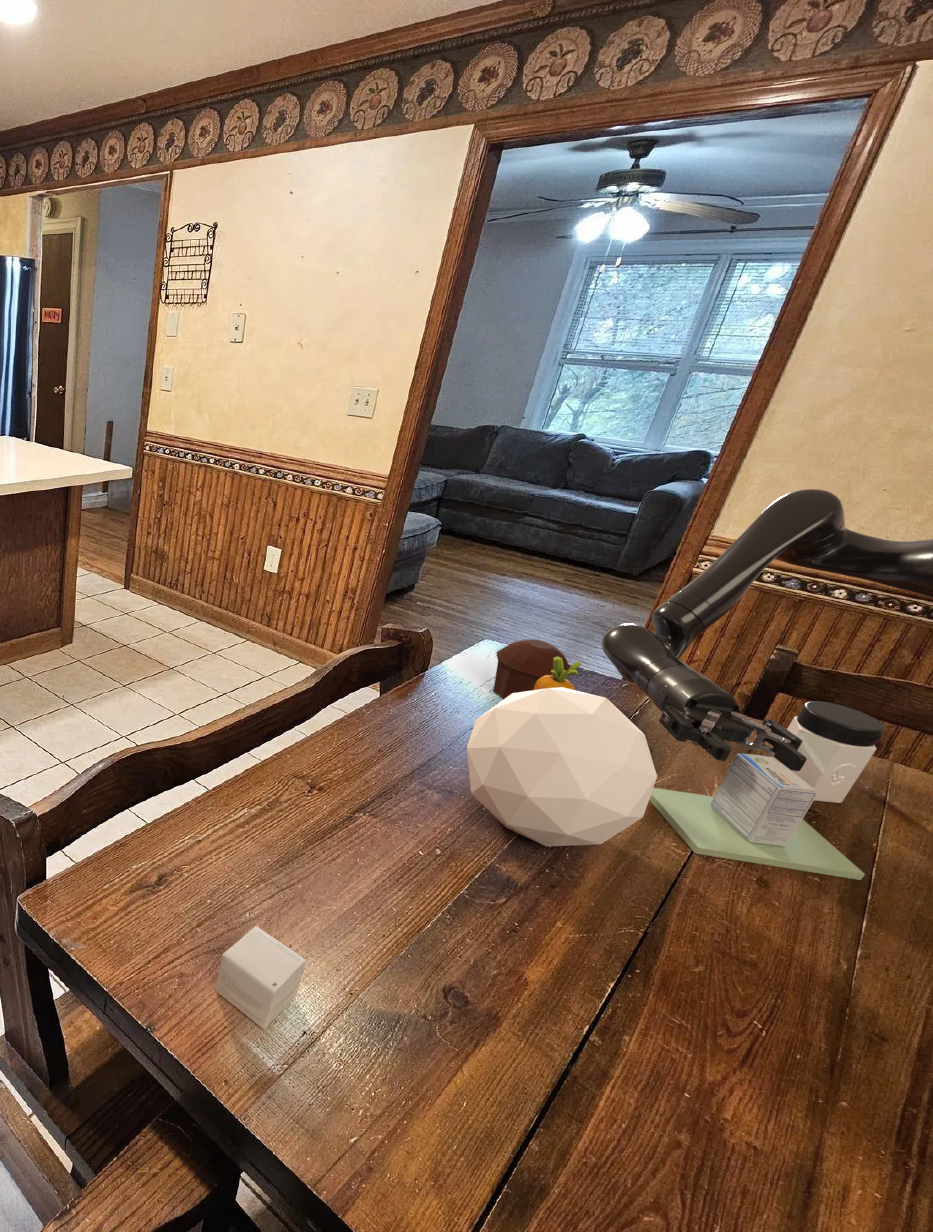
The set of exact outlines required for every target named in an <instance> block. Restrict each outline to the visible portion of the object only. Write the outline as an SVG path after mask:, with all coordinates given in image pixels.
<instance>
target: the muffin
mask: <svg viewBox="0 0 933 1232" xmlns="http://www.w3.org/2000/svg"><path fill="white" fill-rule="evenodd" d="M495 653H496V658H497V665H496V672H495V678H494V684H493V690H492V692H493V693H494V694H496V695H498V696H499V697H500V698H501V699H502V700H504V699H505V698H507V697H508V696H509V695H511V694H512V693H518V692H525V691H532V690H533V689H534V686H535V684H536V682H537V680H538V679H540V678H541V677H543V676H545V675H552V676H553V674H552V672H551V670H554V668H553V661H554V657H560V658H562V660H563V665H564V670H566V671H567V670H568V669H569V668H570V667H571V666H570V663H569V662H568V659H567V657H566V655H565V654H564V652H563V651H562V650H561V649H559V648H558V647H557V646H555V645H554V644H552V643H550V642H548V641H546V640H545V641H544V640H540V639H534V638H525V639H519V640H515V641H512V642H511V643H509V644H508V645H506V646H504V647H502V648H501V649H499V650H498V651H496V652H495Z"/></svg>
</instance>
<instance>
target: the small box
mask: <svg viewBox="0 0 933 1232" xmlns="http://www.w3.org/2000/svg"><path fill="white" fill-rule="evenodd" d="M306 963H307V961H306V959H305V958H304V957H302V956H300V954H297V953H296V952H295V951H293V950H292V949H290V948H289V947H287V946H286V945H284V944H283V943H281V942H280V941H279V940H277V939H276V938H275V937H273V936H272V935H270V934H268V932H266V931H264V930H263V929H261V928H260V927H259V926H258V925H254V927H253V928H251V929H250V930H249V931H248V932H247V933H246V934H245V935H244V936H242V937H241V938H240V939H239V940H238V941H236V942H235V943H234V944H233V945H232V946H231V947H229V948H228V949H227V950H226V951H224V952H223V953H222V954H221V959H220V964H219V968H218V973H217V978H216V983H215V987H214V991H215V992H216V993H217V994H219V995H220V996H221V997H222V998H224V999H225V1000H226V1001H228V1002H229V1003H230V1004H231V1005H232V1006H234V1007H235V1008H236V1009H237V1010H238V1011H240V1012H241V1013H242V1014H244V1015H245V1016H246V1017H248V1018H249V1019H250V1020H251V1021H253V1022H254V1023H255V1024H256V1025H258V1026H259V1027H260V1028H261V1029H262V1030H266V1029H267V1028H268V1027H269V1026H270V1025H271V1024H272V1023H273V1022H274V1021H275V1019H277V1017H278V1016H279V1015H280V1014H281V1013H282V1012H283V1011H284V1009H286V1008H287V1006H289V1005H290V1003H291V1002H293V1000H294V999H295V998H296V997H297V996H298V992H299V989H300V985H301V981H302V978H303V974H304V970H305V966H306Z"/></svg>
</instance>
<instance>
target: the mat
mask: <svg viewBox="0 0 933 1232" xmlns="http://www.w3.org/2000/svg"><path fill="white" fill-rule="evenodd" d="M713 798H714V796H711V795H705V794H698V793H691V792H685V791H677V790H671V789H665V788H660V787H659V788H658V787H653V790H652V793H651V796H650V799H649V802H650V803H651V804H652V806H654V808H655V809H656V810H657V811H658V813H660V815H661V816H662V817H663V818H664V819H665V820H666V822H667V823H668V825H670V826H671V827H672V829H673V830H674V831H675V832H676V833H677V835H679V837H680V838H681V839H682V840H683V842H684V843H685V844H686V845H687V846H688V847H689V848H690V850H691V851H692V852H693V853H694V854H696V855H701V856H708V857H714V858H720V859H727V860H734V861H739V862H745V863H751V864H758V865H763V866H764V865H765V866H769V867H770V866H771V867H777V868H781V869H790V870H794V871H802V872H808V873H813V874H818V875H819V874H820V875H826V876H833V877H838V878H844V879H849V880H850V879H851V880H856V881H857V880H858V881H861V880H863V878H864V877H865V875H866V874H865V873H864V872H863V871H862V870H861V869H860V868H859V867H858V866H857V865H855V864H854V863H853V862H852V861H851V860H850V859H848V858H847V857H846V856H845V855H844V854H843V853H842V852H841V851H840V850H838V849H837V848H836V847H835V846H834V845H833V844H832V843H830V841H828V840H827V839H826V838H825V837H823V836H822V835H821V834H820V833H819V832H818V831H817V830H816V829H815V828H813V827H812V826H811V824H809V823H808V822H807V821H805V819H804V818H803V819H802V821H801V823H800V824H799V826H798V828H797V829H796V831H795V833H794V834H793V836H792V838H791V839H790V841H789V843H788V845H787V846H786V847H785V846H783V847H782V846H775V845H766V844H758V843H752V842H749V841H748V840H747V839H746V838H745V837H744V836H743V835H742V834H741V833H739V832H738V831H737V830H736V829H735V828H734V827H733V826H732V825H731V824H730V823H729V822H728V821H727V820H726V819H725V818H724V817H723V816H722V815H720V814H719V813H718V812H717V811H716V810H715V809H714V808H713V807H712V806H711V805H710V804H711V802H712V800H713Z"/></svg>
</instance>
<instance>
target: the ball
mask: <svg viewBox="0 0 933 1232" xmlns="http://www.w3.org/2000/svg"><path fill="white" fill-rule="evenodd" d="M466 757H467V767H468V776H469V786H470V794H471V795H472V796H473V797H474V798H475V799H476V800H477V801H478V802H479V803H480V804H481V805H482V806H483V807H485V809H486V810H487V811H489V813H491V814H492V815H493V816H494V818H496V819H497V820H498V821H499V822H500V823H501V825H503V826H504V827H505V828H506V829H507V830H510V831H512V832H514V833H517V834H518V835H521V836H522V837H525V838H527V839H530V840H532V841H534V842H536V843H538V844H540V845H542V846H545V847H565V846H566V847H569V846H593V845H594V846H595V845H602V844H604V843H605V842H607V841H609V840H610V839H612V838H614V837H615V836H616V835H618V834H619V833H621V832H622V831H624V830H625V829H627V828H629V827H630V826H632V825H633V824H634V823H636V822H638V821H639V820H641V819H643V818H644V815H645V813H646V810H647V807H648V804H649V802H650V800H649V799H650V796H651V793H652V790H653V788H655V784H656V782H657V779H658V774H657V771H656V769H655V765H654V761H653V758H652V755H651V750H650V749H649V744H648V741H647V739H646V735H645V733H643V731H642V730H641V729H639V727H637V725H636V724H634V723H633V722H632V721H631V720H630V719H629V718H628V717H627V716H626V715H625V714H624V713H623V712H622V711H620V709H619V708H617V707H616V706H615V705H614V704H613V702H611V701H610V700H609V699H608V698H607V697H604V696H600V695H596V694H592V693H587V692H583V691H579V690H576V689H575V690H571V689H567V688H563V687H559V688H546V689H539V690H532V691H525V692H518V693H512V694H511V695H509V696H508V697H507V698H505V699H502V700H501V701H499V702H498V703H497V704H495V705H494V706H493V707H491V708H489V709H488V710H487V711H486V712H484V713H483V714H481V715H480V716H479V717H477V718H476V719H475V721H474V725H473V727H472V730H471V733H470V737H469V740H468V742H467V746H466Z"/></svg>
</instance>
